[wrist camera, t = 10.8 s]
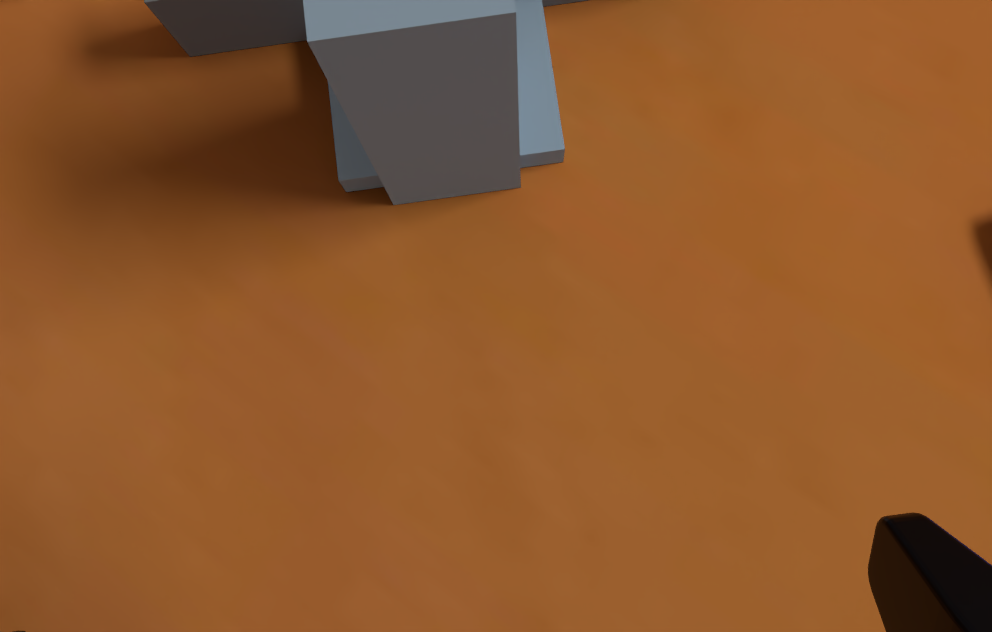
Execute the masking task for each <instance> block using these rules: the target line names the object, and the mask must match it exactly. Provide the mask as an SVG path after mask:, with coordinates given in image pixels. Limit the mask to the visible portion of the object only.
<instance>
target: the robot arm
mask: <svg viewBox="0 0 992 632" xmlns="http://www.w3.org/2000/svg"><path fill="white" fill-rule="evenodd" d="M868 577H869V582H870V587H871V590H872V593H873V596H874V599H875V602H876V604H877V607H878V610H879V613H880V616H881V619H882V621H883V624H884V627H885V630H886V632H992V565H991V564H989V563H988V562H987V561H985V560H984V559H983V558H981V557H980V556H979V555H977V554H976V553H975V552H973V551H972V550H971V549H969V548H968V547H967V546H965V545H964V544H963V543H961V542H960V541H958V540H957V539H956V538H954V537H953V536H952V535H950V534H949V533H948V532H946V531H945V530H944V529H942V528H941V527H940V526H938V525H937V524H936V523H934V522H933V521H932V520H930V519H929V518H928V517H926V516H924V515H922V514H919V513H905V514H898V515H890V516H885V517H882V518H881V519H880V520H879V521H878V522H877V525H876V529H875V534H874V539H873V544H872V549H871V554H870V559H869V564H868ZM14 632H25V631H14Z"/></svg>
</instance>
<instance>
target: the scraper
mask: <svg viewBox="0 0 992 632" xmlns="http://www.w3.org/2000/svg"><path fill="white" fill-rule="evenodd" d="M580 1H587V0H144V3H145V4H146V5H147V6H148V7H149V9H150V10H151V11H152V12H153V13H154V14H155V16H156V17H157V18H158V19H159V20H160V22H161V23H162V24H163V25H164V26H165V28H166V29H167V30H168V31H169V32H170V34H171V35H172V36H173V37H174V38H175V39H176V41H177V42H178V43H179V44H180V45H181V47H182V48H183V49H184V50H185V51H186V53H187V54H188V55H189V56H190V57H192V56H199V55H206V54H213V53H220V52H227V51H234V50H241V49H248V48H256V47H263V46H270V45H277V44H284V43H291V42H298V41H305V40H307V42H308V44H309V46H310V48H311V50H312V52H313V54H314V56H315V57H316V59H317V61H318V63H319V65H320V67H321V69H322V71H323V73H324V74H325V76H326V78H327V80H328V87H329V97H330V106H331V115H332V125H333V134H334V143H335V152H336V162H337V171H338V180H339V182H340V184H341V185H342V187H343V188H344V190H345V191H346V192H351V191H358V190H366V189H373V188H380V187H384V188H385V190H386V192H387V193H388V195H389V197H390V199H391V201H392V203H393V205H398V204H405V203H412V202H419V201H427V200H434V199H441V198H448V197H455V196H463V195H470V194H477V193H484V192H491V191H499V190H506V189H513V188H520V187H521V182H520V168H523V167H530V166H538V165H545V164H552V163H559V162H563V159H564V151H565V148H564V141H563V135H562V128H561V122H560V115H559V108H558V102H557V95H556V89H555V82H554V76H553V69H552V63H551V56H550V50H549V43H548V37H547V30H546V23H545V17H544V10H543V7H544V6H551V5H558V4H565V3H573V2H580Z"/></svg>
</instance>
